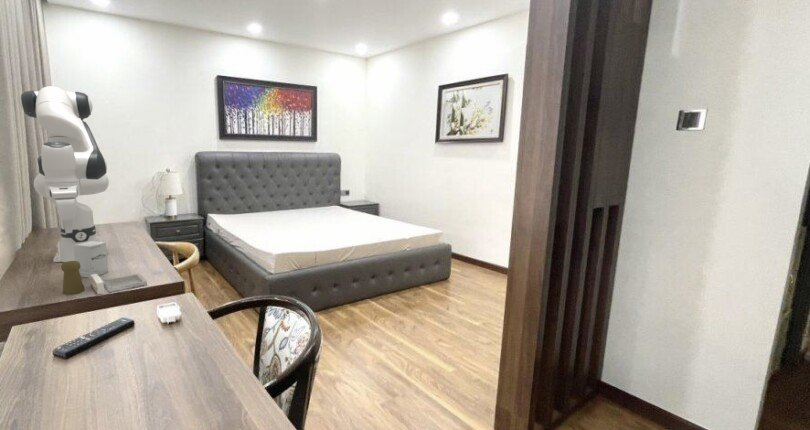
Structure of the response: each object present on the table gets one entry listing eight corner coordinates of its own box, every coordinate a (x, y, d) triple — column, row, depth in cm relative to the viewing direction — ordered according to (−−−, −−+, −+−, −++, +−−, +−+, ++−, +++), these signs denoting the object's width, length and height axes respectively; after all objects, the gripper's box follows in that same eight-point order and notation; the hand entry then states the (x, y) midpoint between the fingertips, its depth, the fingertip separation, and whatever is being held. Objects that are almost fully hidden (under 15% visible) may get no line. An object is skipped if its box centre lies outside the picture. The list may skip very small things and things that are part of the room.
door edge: (90, 285, 145) (88, 274, 145) (97, 283, 147) (96, 273, 146) (96, 294, 137) (95, 283, 136) (104, 293, 139) (103, 282, 138)
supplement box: (91, 278, 153) (88, 246, 150) (76, 276, 154) (72, 244, 152) (109, 272, 160) (106, 242, 157) (94, 270, 161) (91, 240, 159)
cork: (58, 295, 135) (54, 264, 133) (68, 289, 141) (64, 259, 139) (79, 294, 137) (76, 263, 135) (88, 288, 143) (85, 258, 141)
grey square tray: (102, 284, 147) (102, 279, 147) (139, 277, 155) (138, 273, 155) (109, 292, 139) (109, 288, 139) (147, 285, 147) (146, 281, 147)
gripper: (49, 188, 139) (54, 227, 141) (51, 193, 124) (57, 236, 126) (72, 187, 143) (77, 225, 145) (77, 192, 128) (82, 234, 131)
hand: (68, 230), depth 136 cm, fingers open, 8 cm apart
